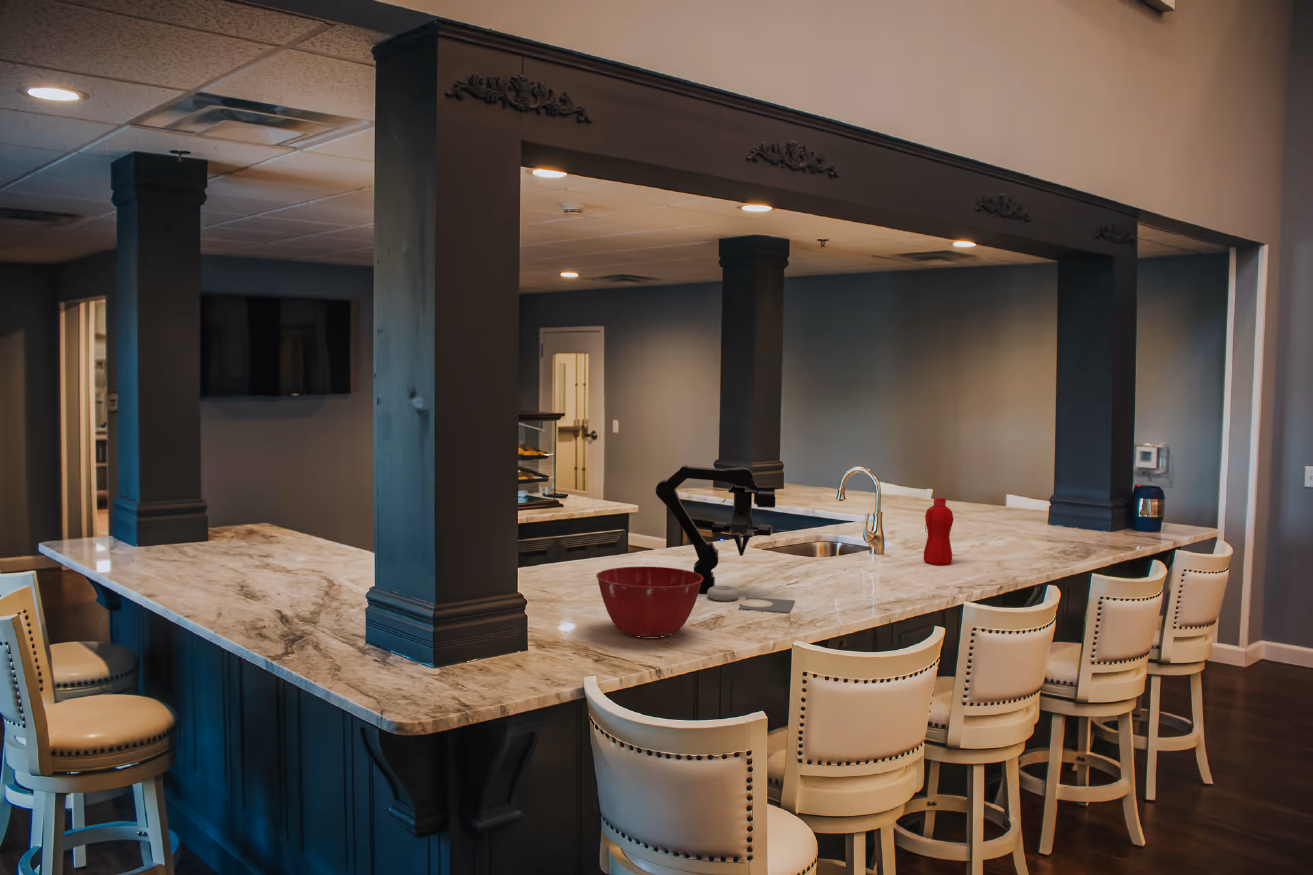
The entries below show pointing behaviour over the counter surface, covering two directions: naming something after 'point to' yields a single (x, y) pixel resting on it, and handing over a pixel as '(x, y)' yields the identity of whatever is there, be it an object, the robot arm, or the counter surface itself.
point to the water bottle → (938, 533)
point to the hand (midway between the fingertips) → (741, 555)
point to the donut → (723, 593)
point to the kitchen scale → (767, 604)
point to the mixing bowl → (649, 598)
